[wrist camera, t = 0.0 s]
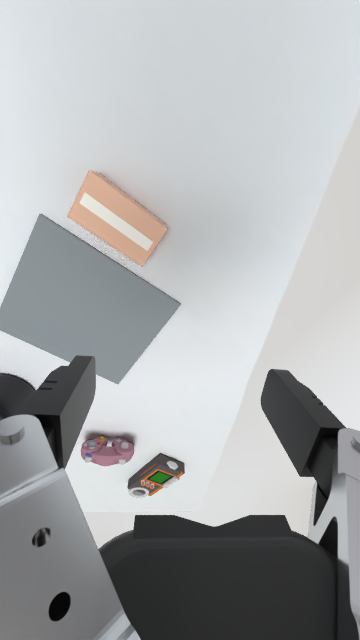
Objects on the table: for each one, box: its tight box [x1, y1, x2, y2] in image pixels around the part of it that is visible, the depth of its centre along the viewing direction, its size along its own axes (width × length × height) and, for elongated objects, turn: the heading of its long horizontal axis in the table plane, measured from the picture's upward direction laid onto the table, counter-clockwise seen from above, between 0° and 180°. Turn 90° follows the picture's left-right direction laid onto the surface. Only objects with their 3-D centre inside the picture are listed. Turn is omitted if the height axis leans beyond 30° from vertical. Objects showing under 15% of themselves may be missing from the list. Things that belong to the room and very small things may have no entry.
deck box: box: [67, 170, 167, 266], centre depth 26 cm, size 5×9×4 cm, turn 54°
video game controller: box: [81, 436, 134, 466], centre depth 45 cm, size 10×5×7 cm, turn 79°
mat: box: [0, 214, 181, 384], centre depth 33 cm, size 18×20×1 cm
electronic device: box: [128, 454, 185, 497], centre depth 53 cm, size 7×3×15 cm
